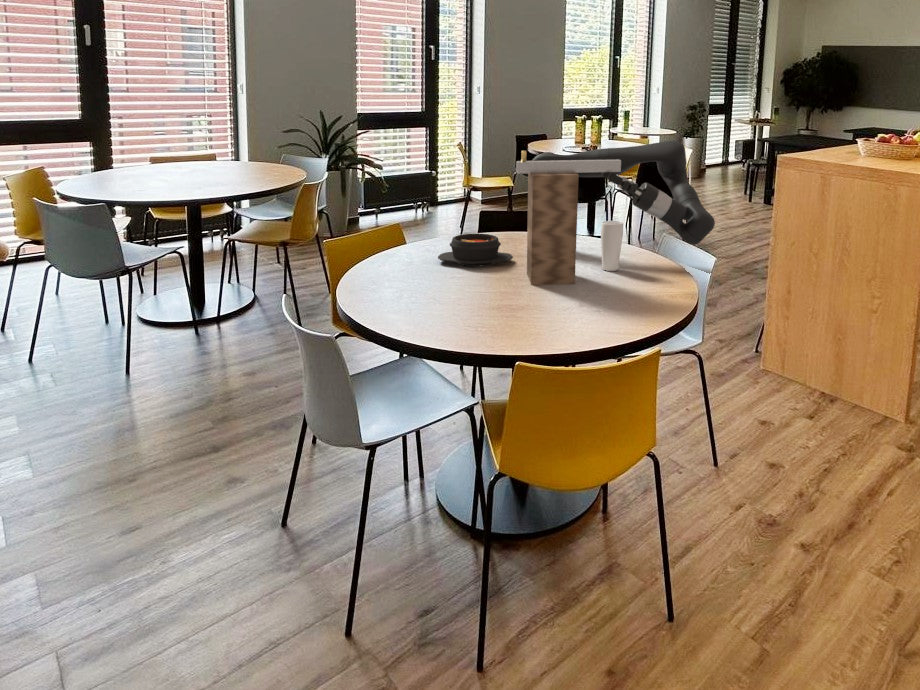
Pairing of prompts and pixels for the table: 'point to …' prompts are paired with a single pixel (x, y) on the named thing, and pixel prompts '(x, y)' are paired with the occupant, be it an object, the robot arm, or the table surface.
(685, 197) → the robot arm
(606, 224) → the white tapered cylinder
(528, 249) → the pedestal
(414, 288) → the table surface
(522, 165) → the bar
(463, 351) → the table surface
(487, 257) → the casserole
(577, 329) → the table surface
